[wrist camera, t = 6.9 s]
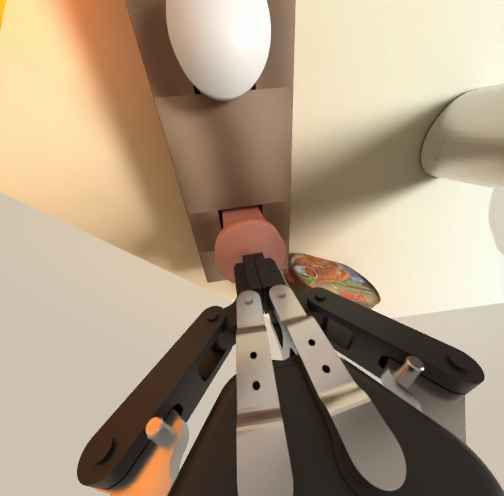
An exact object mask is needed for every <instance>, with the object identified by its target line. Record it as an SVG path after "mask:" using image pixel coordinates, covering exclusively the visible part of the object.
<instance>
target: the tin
mask: <svg viewBox="0 0 504 496" xmlns="http://www.w3.org/2000/svg"><path fill="white" fill-rule="evenodd" d="M284 275H285V279H286V281H287V283H288V285H289V286H290V288H291V290H292V291H294V292H298V293H308V291H309V290H310V289H311V288H314V287H321V288H325V289H327V290H329V291H331V292H333V293H336V294H338V295H340V296H342V297H344V298H347V299H349V300H351V301H353V302H355V303H358V304H360V305H362V306H364V307H366V308H369V309H371V308H373V307H374V306H375V305H376V304H378V303H379V302H380V295H379V293H378V292H377V290H376V289H375V288H374V286H373V285H372V284H371V283H370V282H369V281H368V280H367V279H365V278H364V277H363V276H362V275H360V274H359V273H358V272H356V271H355V270H353V269H352V268H350V267H348V266H346V265H343V264H340V263H337V262H333V261H329V260H325V259H321V258H318V257H314V256H310V255H306V254H294V255H293V256H292V257H291V258H290V261H289V262H288V269H285V270H284Z"/></svg>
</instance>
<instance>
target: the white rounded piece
mask: <svg viewBox="0 0 504 496" xmlns="http://www.w3.org/2000/svg"><path fill="white" fill-rule="evenodd" d="M166 20H167V28H168V34H169V38H170V41H171V45H172V47H173V50H174V53H175V55H176V57H177V59H178V61H179V63H180V65H181V67H182V69H183V71H184V73H185V74H186V76H187V77H188V79H189V80H190V82H191V83H192V84H193V85H194V86H195V87H196V88H197V89H198V90H199V91H200V92H201V93H202V94H204V95H206V96H208V97H210V98H212V99H215V100H219V101H231V100H235V99H238V98H240V97H241V96H243V95H244V94H246V93H247V92H248V91H249V90H250V89H251V88H252V86H253V85H254V84H255V82H256V81H257V80H258V78H259V77H260V75H261V73H262V71H263V69H264V67H265V64H266V61H267V58H268V54H269V49H270V41H271V22H270V14H269V8H268V4H267V0H166Z"/></svg>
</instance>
